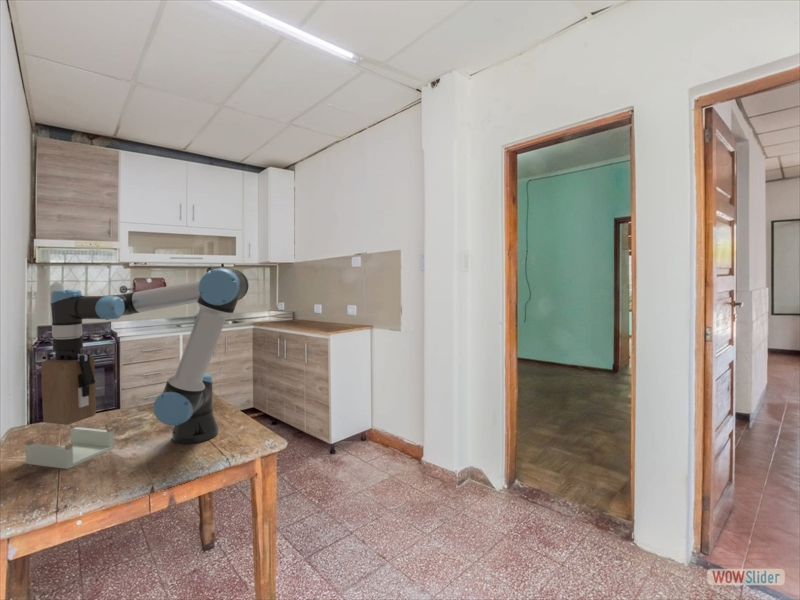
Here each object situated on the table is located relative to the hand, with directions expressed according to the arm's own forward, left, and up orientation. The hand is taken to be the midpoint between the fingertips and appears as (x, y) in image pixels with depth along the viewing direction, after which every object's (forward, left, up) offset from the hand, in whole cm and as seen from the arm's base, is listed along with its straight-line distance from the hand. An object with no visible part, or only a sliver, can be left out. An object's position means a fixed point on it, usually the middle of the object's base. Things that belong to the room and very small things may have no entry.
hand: (70, 404), depth 129 cm
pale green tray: (0, 0, -17) cm, 17 cm away
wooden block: (0, 0, -5) cm, 5 cm away
